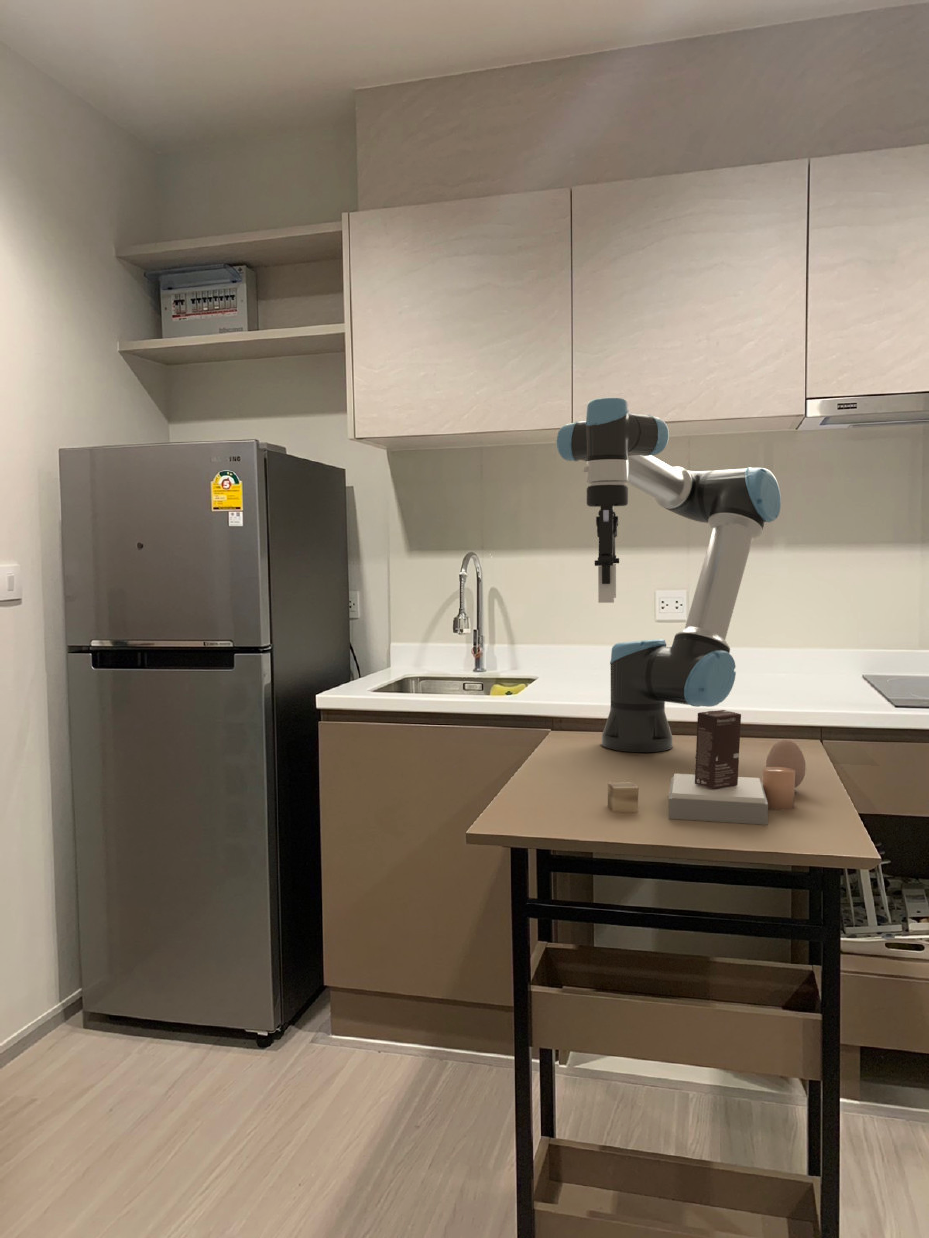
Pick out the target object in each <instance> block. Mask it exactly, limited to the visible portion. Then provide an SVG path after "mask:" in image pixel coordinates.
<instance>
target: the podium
mask: <svg viewBox="0 0 929 1238" xmlns="http://www.w3.org/2000/svg"><path fill="white" fill-rule="evenodd" d="M670 778H671V779H670V786H669V793H668V812H667V814H668V815H667V816H668V820H669V819H671V820H683V821H684V820H685V821H700V822H701V821H703V822H716V823H717V822H719V823H733V824H748V825H751V824H752V825H765V826H767V825H769V824H768V823H769V820H768V819H769V808H768V802H767V799H766V795H765V791H764V788H763V781H761V779H760V777H749V776H748V777H745V776H738V785H735V786H728V787H722V788H716V789H708V788H703V787H701V786H697V785H695V774H691V773H690V774H688V773H674V775H673V777H672V776H671V777H670Z"/></svg>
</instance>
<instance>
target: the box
mask: <svg viewBox="0 0 929 1238" xmlns="http://www.w3.org/2000/svg"><path fill="white" fill-rule="evenodd" d="M696 720H697V722H696V723H697V724H696V725H697V726H696V744H695V747H696V748H695V769H694V771H695V772H694V775H695V785H697V786H701V787H703V788H708V789H716V788H722V787H728V786H735V785H738V777H739V763H740V744H741V743H740V742H741V740H740V739H741V724H742V713H739V712H735V711H730V710H725V709H720V710H708V711H701V712H700V711H699V712H698V713H697V719H696Z"/></svg>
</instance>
